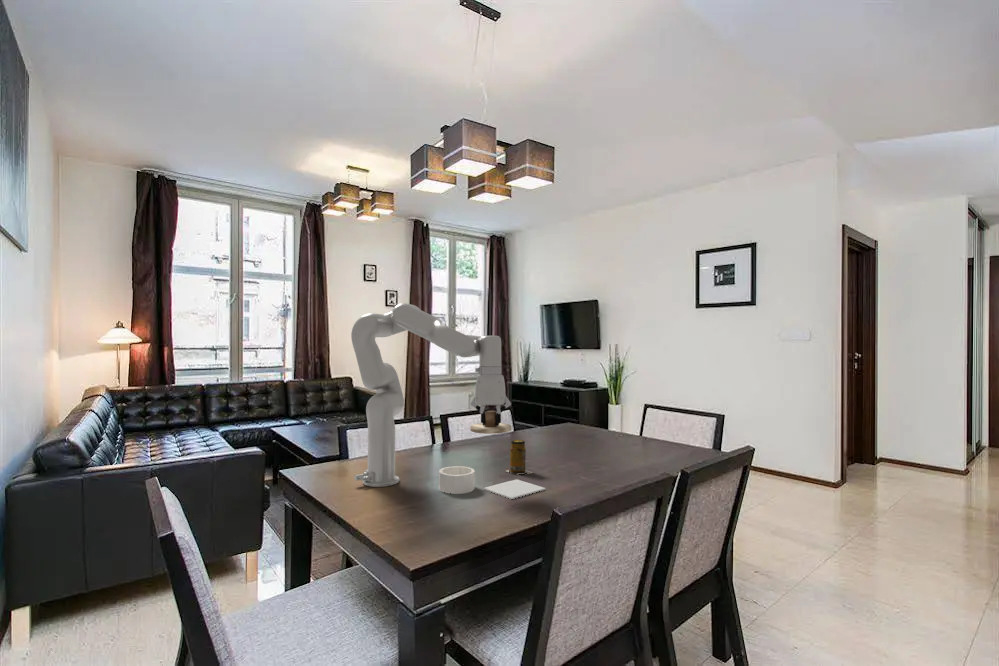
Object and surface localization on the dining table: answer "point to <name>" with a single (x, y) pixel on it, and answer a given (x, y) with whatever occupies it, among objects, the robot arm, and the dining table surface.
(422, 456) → the dining table surface
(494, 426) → the lid
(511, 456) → the condiment
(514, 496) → the mat
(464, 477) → the bowl
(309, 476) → the dining table surface
